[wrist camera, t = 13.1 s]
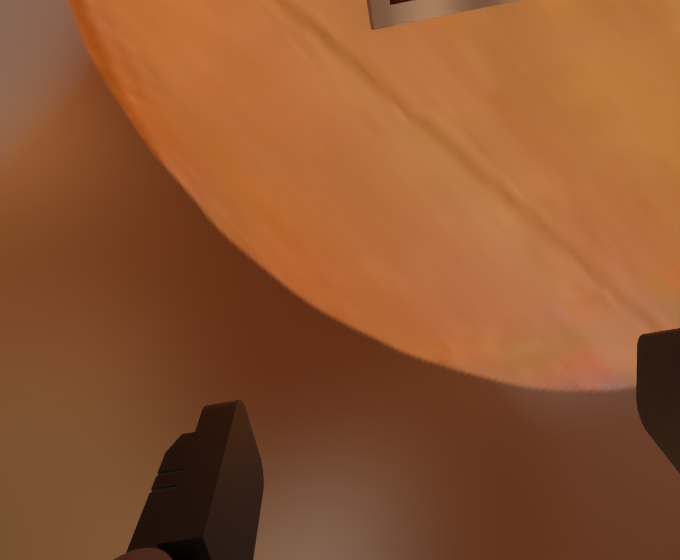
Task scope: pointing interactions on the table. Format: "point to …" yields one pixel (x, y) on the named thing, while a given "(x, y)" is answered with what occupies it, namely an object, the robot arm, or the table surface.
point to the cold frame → (420, 10)
